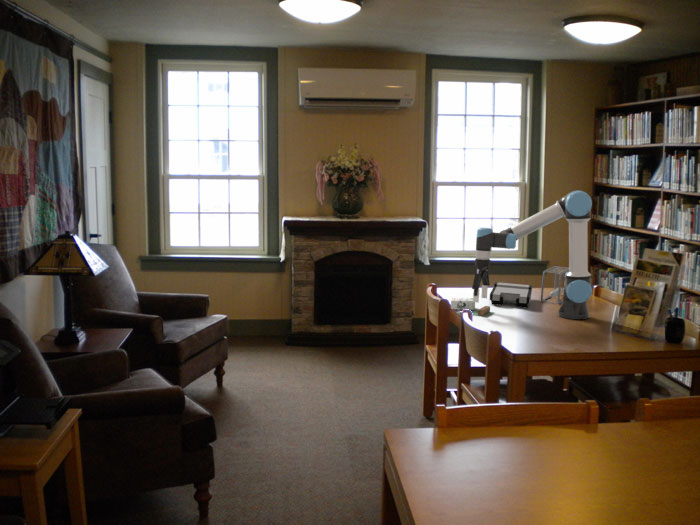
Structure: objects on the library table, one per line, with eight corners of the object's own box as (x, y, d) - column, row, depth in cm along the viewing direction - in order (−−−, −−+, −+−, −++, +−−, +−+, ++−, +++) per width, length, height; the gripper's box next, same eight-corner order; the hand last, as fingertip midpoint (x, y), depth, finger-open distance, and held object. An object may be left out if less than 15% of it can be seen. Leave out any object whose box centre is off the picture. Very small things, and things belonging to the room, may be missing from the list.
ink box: (475, 307, 374) (452, 306, 377) (475, 297, 373) (452, 297, 376) (473, 310, 366) (450, 309, 369) (473, 300, 365) (450, 300, 368)
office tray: (489, 306, 383) (490, 291, 382) (494, 296, 413) (495, 282, 412) (528, 310, 377) (529, 295, 376) (531, 299, 408) (532, 285, 406)
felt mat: (494, 313, 365) (494, 312, 365) (486, 318, 352) (486, 317, 352) (464, 309, 372) (464, 308, 372) (455, 313, 360) (455, 312, 360)
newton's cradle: (558, 304, 394) (561, 273, 392) (540, 302, 399) (542, 271, 397) (571, 296, 420) (574, 267, 417) (553, 294, 425) (556, 265, 423)
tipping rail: (489, 312, 365) (490, 306, 364) (482, 316, 354) (483, 310, 354) (485, 311, 366) (485, 305, 365) (477, 315, 355) (478, 309, 355)
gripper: (483, 255, 370) (480, 295, 373) (467, 260, 348) (464, 302, 351) (497, 256, 366) (494, 297, 369) (482, 262, 344) (479, 304, 348)
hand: (479, 300), depth 360 cm, fingers open, 13 cm apart
